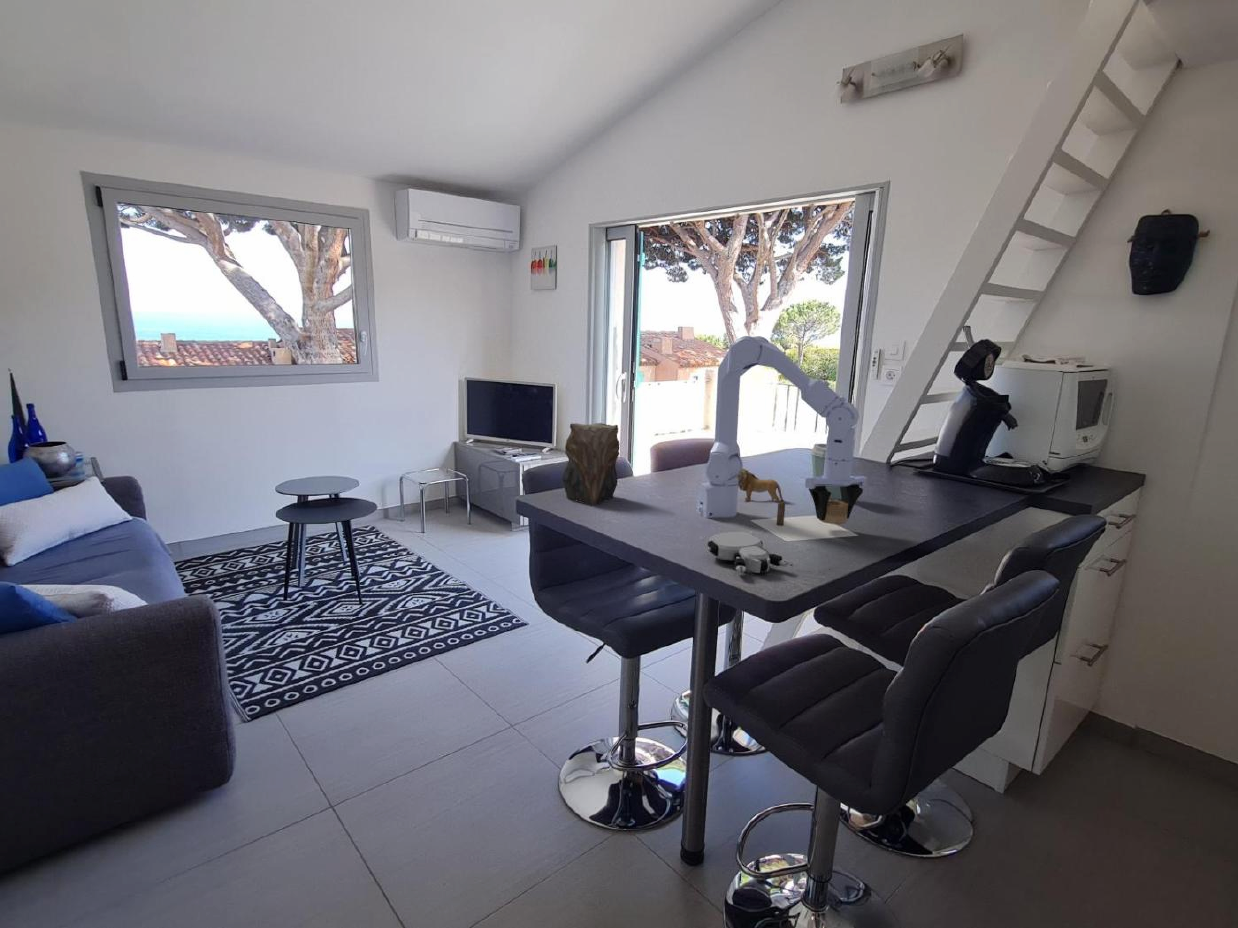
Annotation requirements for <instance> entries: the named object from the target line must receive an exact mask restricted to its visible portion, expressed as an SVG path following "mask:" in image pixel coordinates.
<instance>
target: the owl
mask: <svg viewBox="0 0 1238 928" xmlns="http://www.w3.org/2000/svg"><path fill="white" fill-rule="evenodd" d="M569 428H570V433H569V435H568V437H567V438H566V442H565V446H564V449H565V451H564V453H565V455H566V457H567V463H566V465H565V466H564V471H563V474H562V476H561V480H562V485H563V488H564V492H565V494H566V496H565V498H566V497H567V498H569V499H568V500H571V499H574V500H577V501H576V502H578V501H581V502H580V503H582V502H583V504H584V503H586V504H585V505H589V504H590V506H593V505H596V506H597V504H598V505H600V504H602V503H604V502H606V501H605V500H607V501H608V500H610V499H609V498H611V499H613V498H614V493H615V492H616V491H615V490H616V489H617V487H618V474H617V470H616V464H617V460H618V457H619V456H620V451H619V450H620V440H619V438H618V433H619V425H618V424H614V425H611V424H607V423H602V422H598V423H597V422H596V423H593V424H588V423H587V424H581V423H570V424H569ZM612 497H613V498H612ZM567 498H566V499H567ZM574 500H573V501H574ZM603 501H604V502H603ZM601 502H602V503H601ZM599 503H600V504H599Z"/></svg>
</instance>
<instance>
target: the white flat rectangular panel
mask: <svg viewBox="0 0 1238 928" xmlns="http://www.w3.org/2000/svg"><path fill="white" fill-rule="evenodd" d="M750 521H751V522H753V523H754V524H756V525H758V526H759V527H761V528H762V529H764V530H766V531H768V532H770V534H771V533H772V534H773V535H774V536H777V537H778V538H780V539H782V540H784V541H785V542H796V541H809V540H822V539H833V538H843V537H855V536H856V537H857V536H859V534H857V533H854V532H852V531H850V530H849V529H846V528H844V527H841V526H840V525H839V524H829V523H824V522H822V521H820V520H819V519H818V518H817V515H815V514H814V515H802V516H790V517H784V525H783V526H778V525H777V517H776V518H775V517H774V518H761V519H760V518H758V519H750Z"/></svg>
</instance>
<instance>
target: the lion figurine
mask: <svg viewBox="0 0 1238 928" xmlns="http://www.w3.org/2000/svg"><path fill="white" fill-rule="evenodd" d="M737 478H738V481H739V483H738V489H739V490H740V491H743V492H745V493H746V497H745V498H744V503H750V502H751V500H752V499H751V496H752V493H753V492H755V493H760V494H761V493H765V492H768V494H769V496H770V499H768V500H767V502H773V501H775V502H776V503H779V502H785V500H784V499H783V495H782V490H781V486H780V485H779V483H778V481H776V480H775V479H774V480H773V479H771V478H770V479H761V478H758V477H757V476H756V475H755V474H754V473H752V472H749V470H747V469H745V468H742V471H741V473H740V474H739V475H738V476H737ZM777 491H778V494H779V496H778V494H777Z"/></svg>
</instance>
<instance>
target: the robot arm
mask: <svg viewBox="0 0 1238 928" xmlns="http://www.w3.org/2000/svg"><path fill="white" fill-rule="evenodd" d="M723 357H724V358H723V359H722V361H721V362H720V364H719V366H718V367H717V368H718V369H717V380H716V381H717V384H716V385H717V386H716V404H715V405H716V406H715V407H716V410H715V429H714V431H715V433H714V442H713V446H712V447H711V449H710V452H709V458H708V459H709V460H708V461H707V463H706V464H705V469H704V471H705V472H704V473H705V475H706V477H707V479H708V481H707V482H705V483H703V482H702V483H700V484H698V487H697V489H696V490H697V491H696V508H695V512H696V513H698V514H699V515H701V516H702V517H703V518H706V519H710V518H713V519H714V518H733V517H736V516H737V513H738V512H737V511H738V499H739V498H738V495H739V487H738V483H739V481H738V478H737V476H738V475H739V474H740V473H741V471H742V468H743V467H744V465H743V461H742V459H741V455H740V452H741V451H740V447H739V444H738V429H739V427H738V424H739V411H740V409H739V408H740V389H741V377H742V376H743V375H744V374H745V373H747V372H748V371H749V370H750V369H751V368H753V367H755V366H762V367H768V368H772V369H774V370H775V371H777V372H778V373H779V374H781V376H783V377H784V378H785V379H787V380H788V381H789V382H790V383H792V384H793V385H794V386H795V387H796V388H798V389H799V390H800V398H801V400H802V401H803V402H804V403H806V404H807V405H808V406H809V407H810V408H811V409H812V410H814V411H815V412H816V413H817V414H818V415H820V417H822V418H824V419H825V423H826V425H827V427H828V429H827V431H828V432H827V437H826V443H825V444H826V454H825V464H824V474H823V476H820V477H815V478H813V477H810V478H809V477H808V478H805V484H804V488H807V489H808V491H809V493H810V496H811V498H812V500H813V503H814V507H815V514H816V515H817V518H818V519H820V520H825V517H826V510H827V504H828V501H829V498H830V495H831V492H829V491H827V489H826V487H840V491H841V496H840V501H842V502H845V503H847V504H848V512H847V520H849V518H850V516H851V514H852V510H853V508H854V506H855V504H856V503H857V501H858V499H859V498H860V496H861V495H862V494H863V490H864V489H863V488H862V487H866V486H867V483H868V478H867V477H866V476H863V475H852V469H853V467H852V466H853V460H854V459H853V458H854V450H855V434H856V427H855V426H856V424H857V423H858V421H859V416H860V414H859V411H858V409H857V408H856V407H855V405H854V404H853V403H852V402H848V401H847V398H846V397H845V396H840V395H839V394H838V393H837V392H836V391H834V390H833V389H832V388H831V387H830V385H831V384H830V383H829V381H827V380H823V381H822V379H820V378H816V379H812V378H810V376H809V375H807V374H806V373H805V372H804V370H802V369H801V368H800V367H799V366H798V365H797V364H796V363H795V362H794V361H793V360H792V359H791V358H789V357H788V355H786V354H785V353H784V352H783V351H782V350H781V349H780V348H779V347H778V346H776V345H775V344H774V343H772V342H770V341H769V340H768V339H767V338H765V337H764V336H761V335H760V336H759V335H758V336H752V335H751V336H750V335H744V336H741V337H739V338H738V339H736V340H735V341H734V342H732V343H730V345H729V348H728V351H727V352H726V354H725V356H723ZM743 469H744V468H743Z"/></svg>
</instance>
